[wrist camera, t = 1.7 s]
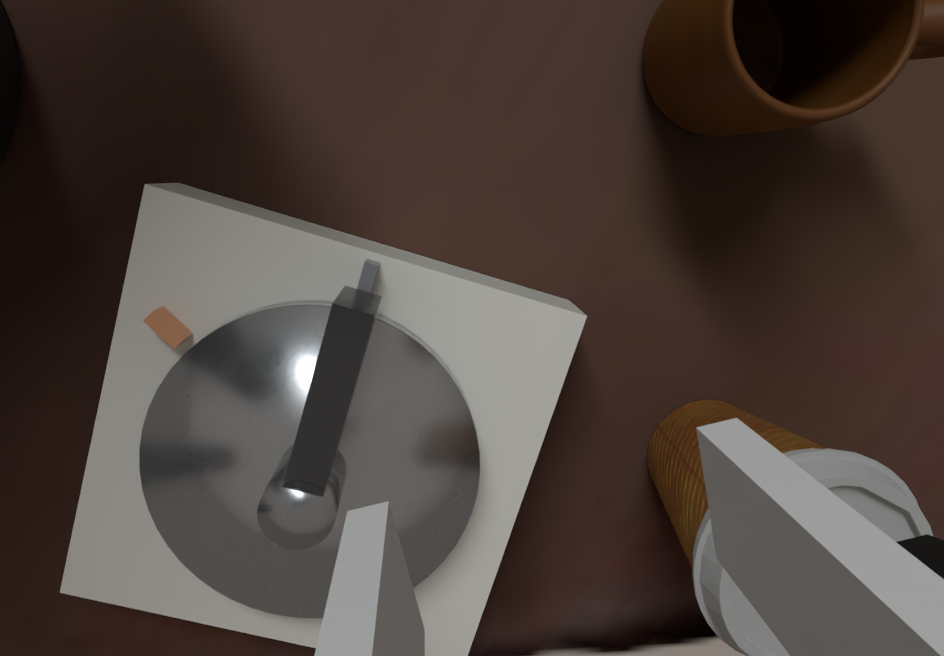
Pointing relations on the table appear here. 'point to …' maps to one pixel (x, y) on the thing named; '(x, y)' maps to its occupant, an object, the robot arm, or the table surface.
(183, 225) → the dial housing
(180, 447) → the dial
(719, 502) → the robot arm
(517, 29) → the table surface
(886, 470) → the disposable coffee cup
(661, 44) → the mug
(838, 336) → the table surface
